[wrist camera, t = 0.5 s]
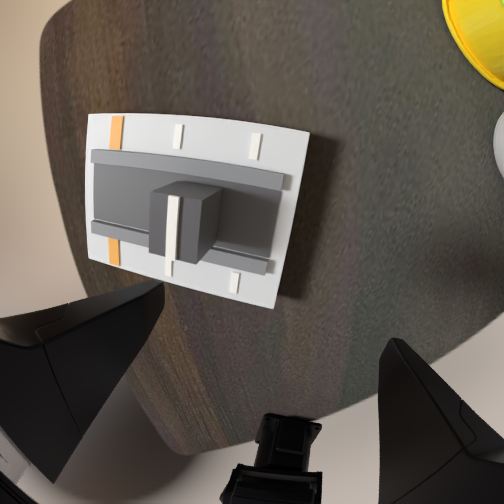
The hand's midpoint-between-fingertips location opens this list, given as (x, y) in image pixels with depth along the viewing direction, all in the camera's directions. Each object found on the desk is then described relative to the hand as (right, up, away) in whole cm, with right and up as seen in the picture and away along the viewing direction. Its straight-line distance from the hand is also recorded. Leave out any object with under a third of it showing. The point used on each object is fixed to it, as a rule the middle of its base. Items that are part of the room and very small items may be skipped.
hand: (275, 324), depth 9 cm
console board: (-6, +6, +12) cm, 15 cm away
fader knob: (-4, +5, +9) cm, 11 cm away
